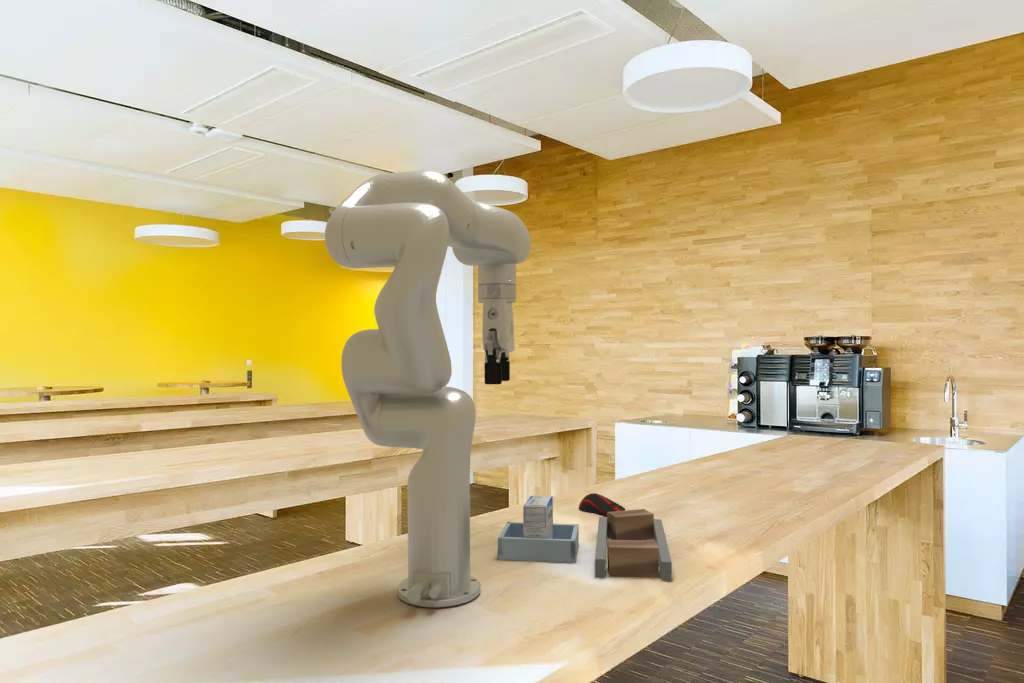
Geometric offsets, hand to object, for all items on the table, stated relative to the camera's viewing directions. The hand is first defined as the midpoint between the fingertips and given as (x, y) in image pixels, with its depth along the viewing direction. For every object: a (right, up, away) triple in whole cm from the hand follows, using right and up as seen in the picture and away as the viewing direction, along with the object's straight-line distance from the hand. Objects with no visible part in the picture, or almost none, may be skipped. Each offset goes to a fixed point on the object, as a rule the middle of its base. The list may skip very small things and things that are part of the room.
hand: (497, 382), depth 134 cm
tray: (+8, -30, -9) cm, 33 cm away
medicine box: (+8, -30, -9) cm, 32 cm away
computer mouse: (+23, -31, +20) cm, 43 cm away
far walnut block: (+26, -30, -1) cm, 40 cm away
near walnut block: (+23, -31, -20) cm, 43 cm away
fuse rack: (+24, -30, -11) cm, 40 cm away
